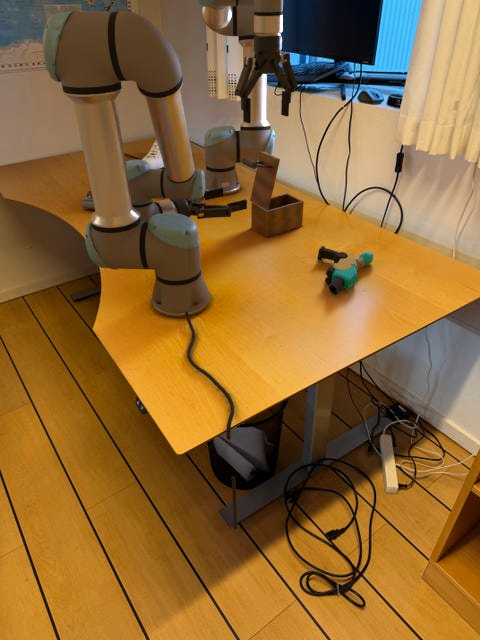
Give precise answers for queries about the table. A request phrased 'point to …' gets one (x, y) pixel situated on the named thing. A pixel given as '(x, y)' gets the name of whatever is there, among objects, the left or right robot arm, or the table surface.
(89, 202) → the toy gun
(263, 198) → the lid
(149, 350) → the table surface
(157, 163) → the sneaker
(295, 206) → the chest
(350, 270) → the toy gun
